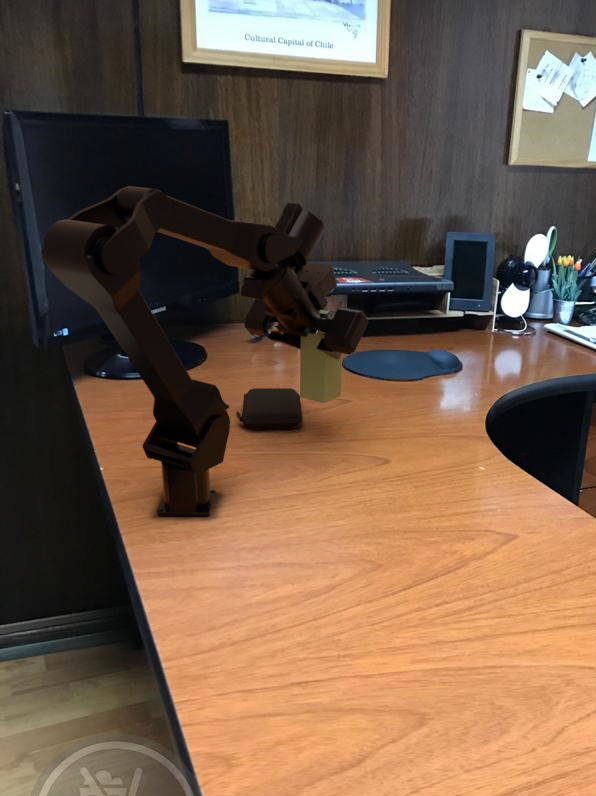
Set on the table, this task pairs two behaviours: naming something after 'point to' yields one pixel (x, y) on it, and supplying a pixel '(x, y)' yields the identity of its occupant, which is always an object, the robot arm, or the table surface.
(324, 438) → the table surface
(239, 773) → the table surface
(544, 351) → the table surface
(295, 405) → the carrying case
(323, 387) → the block
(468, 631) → the table surface
